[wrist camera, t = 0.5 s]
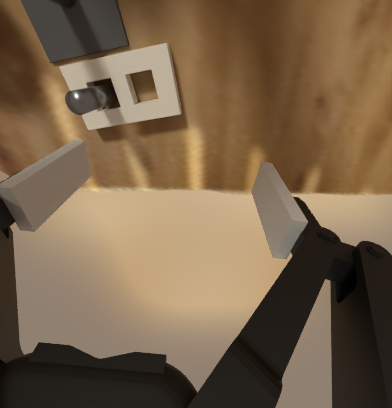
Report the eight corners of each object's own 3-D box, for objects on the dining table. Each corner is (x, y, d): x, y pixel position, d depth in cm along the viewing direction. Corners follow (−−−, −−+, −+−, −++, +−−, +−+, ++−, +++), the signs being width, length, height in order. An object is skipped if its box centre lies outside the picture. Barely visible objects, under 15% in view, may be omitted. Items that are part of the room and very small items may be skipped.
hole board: (68, 66, 34) (59, 66, 32) (169, 44, 31) (166, 42, 29) (94, 126, 39) (88, 130, 37) (182, 111, 37) (180, 114, 35)
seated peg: (98, 85, 35) (60, 92, 26) (114, 82, 35) (81, 88, 26) (105, 104, 37) (72, 116, 28) (120, 101, 36) (91, 113, 27)
